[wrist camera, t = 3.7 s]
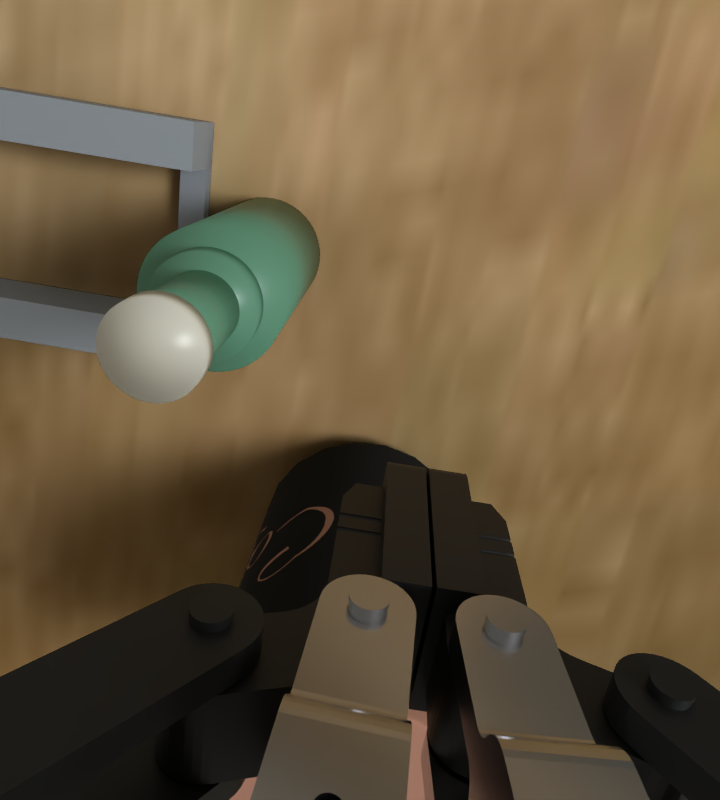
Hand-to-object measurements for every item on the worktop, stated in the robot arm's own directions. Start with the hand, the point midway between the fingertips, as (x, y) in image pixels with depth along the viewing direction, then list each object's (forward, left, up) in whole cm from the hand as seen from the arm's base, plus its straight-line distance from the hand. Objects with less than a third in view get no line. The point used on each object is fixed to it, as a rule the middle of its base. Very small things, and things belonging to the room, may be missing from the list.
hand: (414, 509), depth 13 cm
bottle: (+7, 0, -21) cm, 23 cm away
